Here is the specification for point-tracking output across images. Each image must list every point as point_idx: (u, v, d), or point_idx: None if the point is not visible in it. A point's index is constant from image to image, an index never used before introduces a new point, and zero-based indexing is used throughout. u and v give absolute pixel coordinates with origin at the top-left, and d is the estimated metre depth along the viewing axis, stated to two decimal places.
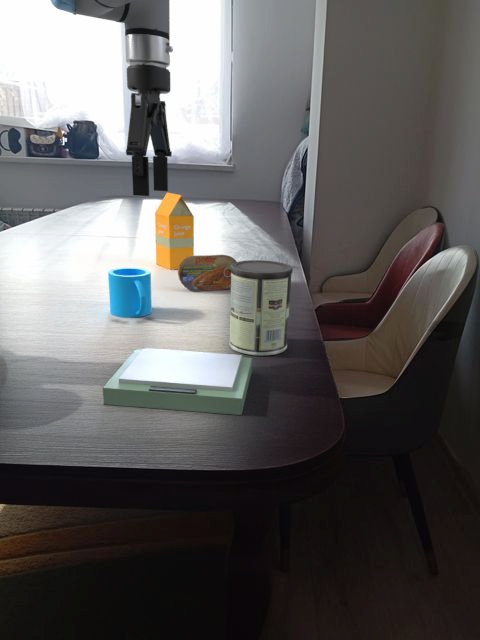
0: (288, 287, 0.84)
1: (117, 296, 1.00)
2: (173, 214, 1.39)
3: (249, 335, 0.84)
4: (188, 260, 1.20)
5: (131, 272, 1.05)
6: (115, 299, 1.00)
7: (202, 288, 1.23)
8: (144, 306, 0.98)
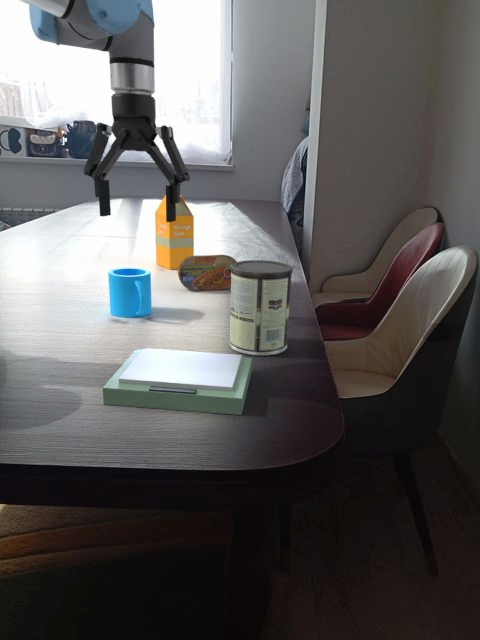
0: (288, 287, 0.84)
1: (117, 296, 1.00)
2: None
3: (249, 335, 0.84)
4: (188, 260, 1.20)
5: (131, 272, 1.05)
6: (115, 299, 1.00)
7: (202, 288, 1.23)
8: (144, 306, 0.98)
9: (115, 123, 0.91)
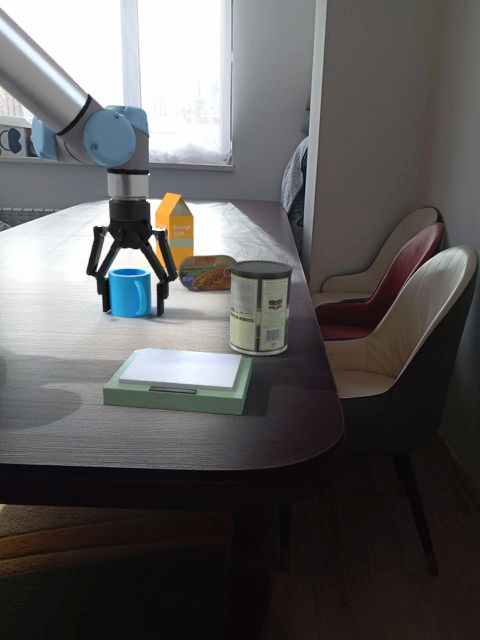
0: (288, 287, 0.84)
1: (117, 296, 1.00)
2: (173, 214, 1.39)
3: (249, 335, 0.84)
4: (188, 260, 1.20)
5: (131, 272, 1.05)
6: (115, 299, 1.00)
7: (202, 288, 1.23)
8: (144, 306, 0.98)
9: (112, 224, 0.96)
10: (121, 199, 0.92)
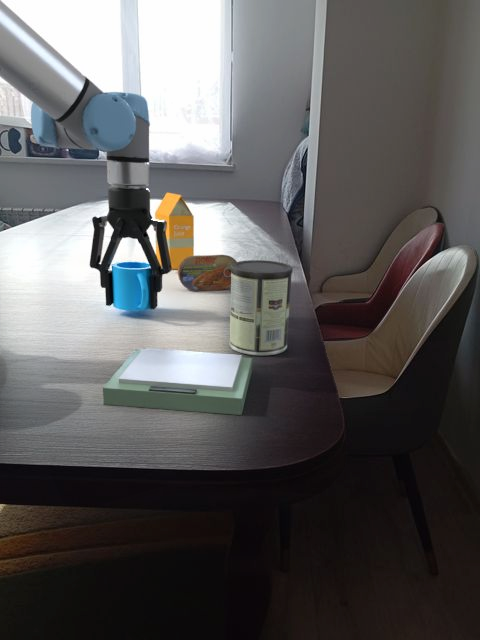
0: (288, 287, 0.84)
1: (120, 289, 0.99)
2: (173, 214, 1.39)
3: (249, 335, 0.84)
4: (188, 260, 1.20)
5: (135, 266, 1.04)
6: (118, 292, 0.99)
7: (202, 288, 1.23)
8: (146, 299, 0.96)
9: (111, 213, 0.95)
10: (120, 187, 0.92)
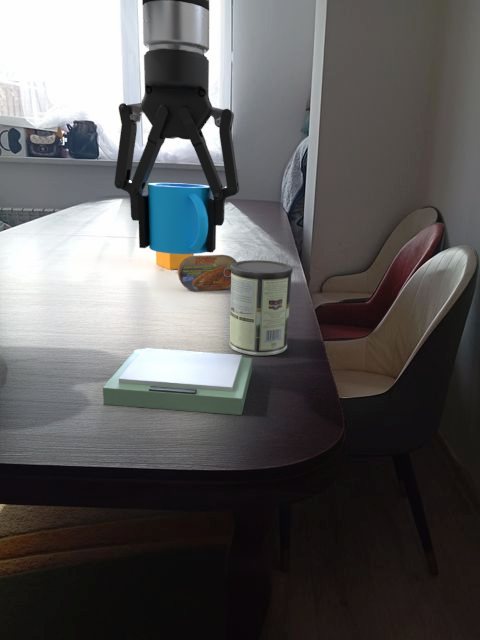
0: (288, 287, 0.84)
1: (161, 220, 0.64)
2: None
3: (249, 335, 0.84)
4: (188, 260, 1.20)
5: None
6: (158, 225, 0.65)
7: (202, 288, 1.23)
8: (204, 233, 0.62)
9: (148, 96, 0.61)
10: (166, 47, 0.57)
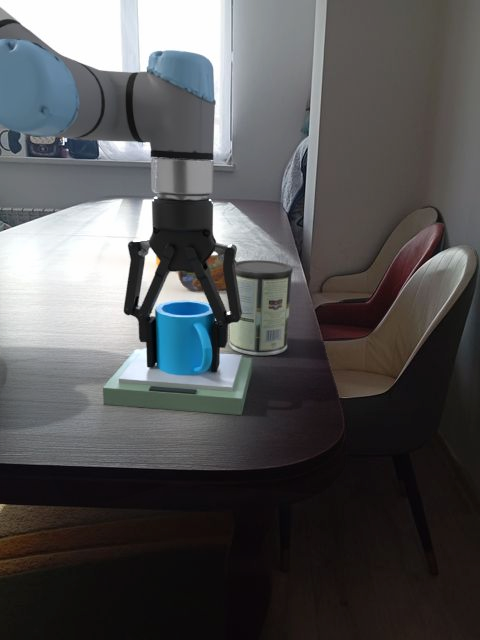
0: (288, 287, 0.84)
1: (168, 345, 0.68)
2: None
3: (249, 335, 0.84)
4: None
5: (186, 307, 0.73)
6: (165, 349, 0.68)
7: None
8: (209, 362, 0.66)
9: (156, 235, 0.64)
10: (173, 198, 0.60)
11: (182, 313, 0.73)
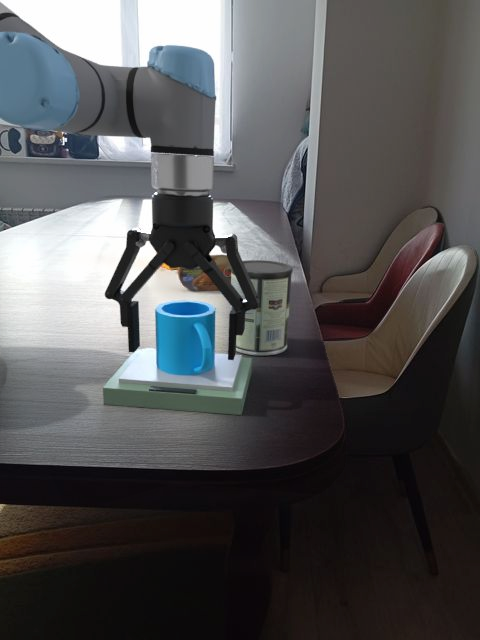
0: (288, 287, 0.84)
1: (168, 345, 0.68)
2: None
3: (249, 335, 0.84)
4: None
5: (186, 307, 0.73)
6: (165, 349, 0.68)
7: (202, 288, 1.23)
8: (209, 362, 0.66)
9: (156, 231, 0.64)
10: (173, 194, 0.60)
11: (182, 313, 0.73)
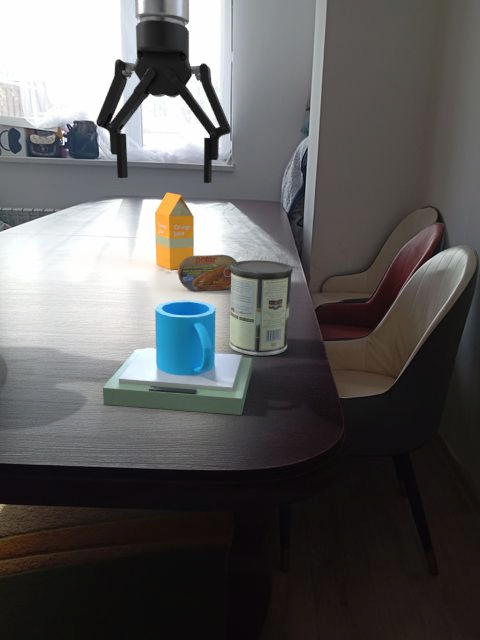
0: (288, 287, 0.84)
1: (168, 345, 0.68)
2: (173, 214, 1.39)
3: (249, 335, 0.84)
4: (188, 260, 1.20)
5: (186, 307, 0.73)
6: (165, 349, 0.68)
7: (202, 288, 1.23)
8: (209, 362, 0.66)
9: (140, 60, 0.74)
10: (153, 19, 0.71)
11: (182, 313, 0.73)
